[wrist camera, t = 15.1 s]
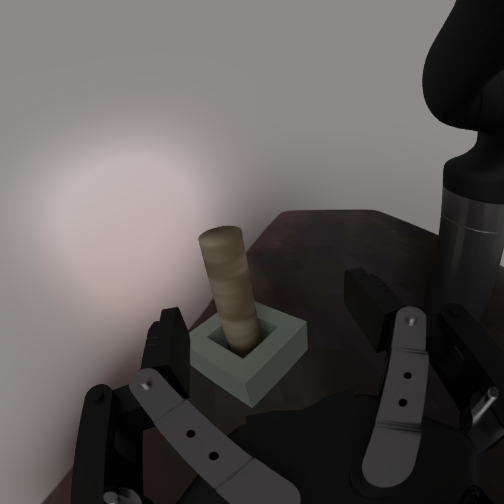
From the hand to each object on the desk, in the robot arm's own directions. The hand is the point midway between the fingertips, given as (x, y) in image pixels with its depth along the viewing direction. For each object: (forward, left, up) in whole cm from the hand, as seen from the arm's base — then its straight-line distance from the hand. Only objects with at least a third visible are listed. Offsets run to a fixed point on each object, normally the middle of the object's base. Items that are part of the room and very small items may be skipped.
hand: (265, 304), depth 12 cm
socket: (-6, -10, -17) cm, 21 cm away
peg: (-6, -10, -17) cm, 21 cm away
